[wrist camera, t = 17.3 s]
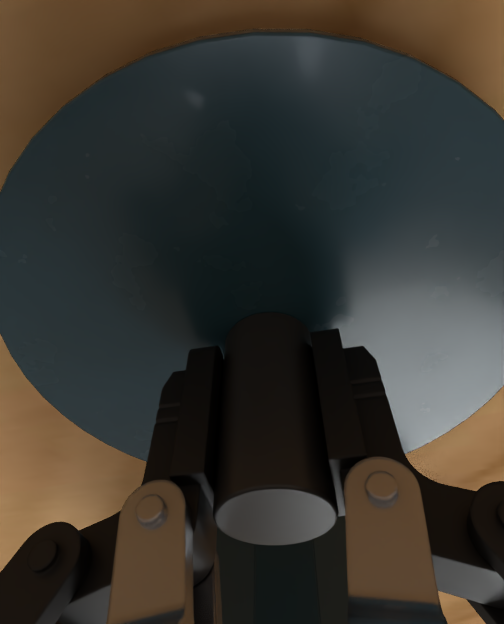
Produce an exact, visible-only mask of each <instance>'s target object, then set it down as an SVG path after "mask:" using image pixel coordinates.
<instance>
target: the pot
mask: <svg viewBox="0 0 504 624" xmlns="http://www.w3.org/2000/svg"><path fill="white" fill-rule="evenodd" d="M216 549H217V552H218V557H219V570H220V588H221V606H222V624H347V612H348V580H347V553H346V525H345V516H338V518H337V521H336V523H335V525H334V526H333V527H332V528H331V529H330V530H329V531H328V532H326V533H325V534H323V535H321V536H319V537H317V538H314V539H312V540H308V541H305V542H301V543H296V544H289V545H259V544H252V543H247V542H243V541H240V540H237V539H234V538H232V537H230V536H228V535H226V534H225V533H223V532H222V531H221V530H220V529H219V528H218V527H217V540H216Z"/></svg>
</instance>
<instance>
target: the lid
mask: <svg viewBox="0 0 504 624" xmlns="http://www.w3.org/2000/svg"><path fill="white" fill-rule="evenodd" d="M336 328H338V329H339V332H340V337H341V341H342V346H343V348H350V347H357V346H364V347H365V348H366V349H367V351H368V352H369V353H370V354H371V355H372V356H373V357H374V358H375V359H376V361H377V364H378V368H379V371H380V374H381V379H382V381H383V385H384V388H385V391H386V396H387V398H388V401H389V405H390V408H391V411H392V415H393V418H394V421H395V425H396V428H397V431H398V435H399V438H400V442H401V445H402V448H403V451H404V454H406V453H409V452H411V451H413V450H415V449H417V448H420V447H422V446H424V445H426V444H428V443H429V442H431V441H433V440H435V439H436V438H438V437H440V436H442V435H444V434H445V433H447V432H449V431H450V430H451V429H453V428H454V427H456V426H457V425H459V424H460V423H462V422H463V421H465V420H466V419H468V418H469V417H470V416H471V415H473V414H474V413H475V412H476V411H477V410H479V409H480V408H481V407H482V406H483V405H485V404H486V403H487V402H488V401H489V400H490V399H491V398H492V397H493V396H494V395H495V394H496V393H497V392H498V391H499V390H500V389H501V388H502V387H503V386H504V120H503V118H502V117H501V116H500V115H499V114H498V113H497V112H496V110H494V109H493V108H492V107H491V106H489V105H488V104H487V103H486V102H484V101H483V100H482V99H480V98H479V97H478V96H477V95H475V94H474V93H473V92H472V91H470V90H469V89H468V88H466V87H465V86H464V85H463V84H461V83H460V82H459V81H457V80H456V79H454V78H453V77H451V76H449V75H447V74H445V73H444V72H442V71H440V70H438V69H436V68H434V67H432V66H430V65H429V64H427V63H425V62H423V61H421V60H419V59H417V58H415V57H414V56H412V55H410V54H407V53H404V52H401V51H398V50H396V49H393V48H390V47H387V46H384V45H381V44H378V43H375V42H372V41H369V40H366V39H363V38H359V37H353V36H347V35H341V34H335V33H329V32H323V31H317V30H311V29H248V30H241V31H235V32H228V33H221V34H214V35H208V36H201V37H198V38H194V39H191V40H188V41H185V42H181V43H178V44H175V45H172V46H169V47H165V48H162V49H159V50H156V51H153V52H150V53H148V54H146V55H144V56H142V57H140V58H138V59H136V60H134V61H132V62H130V63H128V64H126V65H124V66H122V67H120V68H118V69H116V70H114V71H112V72H110V73H108V74H106V75H105V76H103V77H102V78H100V79H99V80H98V81H96V82H95V83H94V84H92V85H91V86H89V87H88V88H87V89H85V90H84V91H82V92H81V93H80V94H78V95H77V96H76V97H74V98H73V99H71V100H70V101H69V102H67V103H66V104H65V105H64V106H63V107H62V108H61V109H60V110H59V111H58V112H57V113H56V114H55V115H54V116H53V117H52V118H51V119H50V120H49V121H48V122H47V123H46V124H45V125H44V126H43V127H42V128H41V129H40V130H39V131H38V132H37V133H36V134H35V135H34V136H33V137H32V138H31V140H30V141H29V143H28V144H27V146H26V147H25V149H24V150H23V152H22V153H21V155H20V156H19V158H18V159H17V161H16V162H15V164H14V165H13V167H12V168H11V170H10V171H9V173H8V175H7V178H6V180H5V182H4V185H3V187H2V189H1V192H0V334H1V336H2V338H3V340H4V342H5V344H6V346H7V348H8V350H9V352H10V354H11V356H12V357H13V359H14V360H15V362H16V363H17V365H18V366H19V368H20V369H21V371H22V372H23V374H24V375H25V377H26V378H27V379H28V380H29V381H30V383H31V384H32V385H33V386H34V387H35V388H36V389H37V391H38V392H39V393H40V394H41V395H42V396H43V397H44V398H45V399H46V400H47V401H48V402H49V403H50V404H51V405H52V406H53V407H55V408H56V409H57V410H58V411H59V412H60V413H61V414H62V415H63V416H65V417H66V418H68V419H69V420H70V421H72V422H73V423H74V424H76V425H77V426H78V427H80V428H81V429H82V430H84V431H85V432H87V433H89V434H90V435H92V436H94V437H95V438H97V439H99V440H100V441H102V442H104V443H105V444H107V445H109V446H112V447H114V448H116V449H118V450H120V451H122V452H124V453H126V454H128V455H130V456H133V457H136V458H138V459H141V460H143V461H146V462H147V459H148V454H149V450H150V445H151V440H152V435H153V430H154V425H155V424H156V416H157V411H158V409H159V401H160V397H161V392H162V388H163V386H164V385H165V383H166V382H167V380H168V379H169V377H170V376H171V374H172V373H173V372H176V371H183V370H186V365H187V359H188V353H189V351H190V350H191V349H196V348H203V347H210V346H219V347H220V349H221V352H222V355H223V358H224V366H223V380H222V393H221V407H220V420H219V434H218V448H217V461H216V475H215V488H214V502H213V519H214V522H215V524H216V526H217V527H218V528H219V529H220V530H221V531H222V532H223V533H225V534H226V535H228V536H230V537H232V538H234V539H237V540H240V541H243V542H247V543H252V544H259V545H289V544H296V543H301V542H305V541H308V540H312V539H314V538H317V537H319V536H321V535H323V534H325V533H326V532H328V531H329V530H330V529H331V528H332V527H333V526H334V525H335V523H336V521H337V518H338V505H337V498H336V491H335V487H334V485H333V483H332V477H331V471H330V465H329V458H328V452H327V445H326V438H325V431H324V424H323V417H322V411H321V404H320V397H319V390H318V383H317V377H316V370H315V363H314V356H313V349H312V342H311V336H310V332H315V331H322V330H329V329H336Z"/></svg>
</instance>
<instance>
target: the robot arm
mask: <svg viewBox="0 0 504 624" xmlns="http://www.w3.org/2000/svg"><path fill="white" fill-rule="evenodd" d="M310 336H311V342H312V349H313V356H314V363H315V370H316V377H317V383H318V390H319V397H320V404H321V411H322V417H323V424H324V431H325V438H326V445H327V452H328V458H329V465H330V471H331V477H332V483H333V485H334V487H335V491H336V498H337V505H338V516H345V525H346V553H347V580H348V612H347V624H447V621H446V618H445V617H444V615H443V612H442V609H441V605H440V600H439V595H438V591H441V592H445V593H448V594H451V595H455V596H458V597H461V598H465V599H467V601H468V602H469V603H470V604H471V606H472V607H473V608H474V609H475V610H476V612H477V613H478V614H479V615H480V617H481V618H482V619H483V620H484V622H485V623H486V624H504V481H498V482H492V483H489V484H486V485H484V486H483V487H481V488H480V489H479V490H478V491H472V490H467V489H462V488H458V487H453V486H448V485H444V484H440V483H437V482H435V481H432V480H430V479H428V478H427V477H425V476H423V475H422V474H421V473H419V472H418V471H417V470H416V469H415V468H414V467H413V466H412V465H411V464H410V462H409V461H408V459H407V458H406V456H405V454H404V451H403V448H402V445H401V442H400V438H399V435H398V431H397V428H396V425H395V421H394V418H393V415H392V411H391V408H390V405H389V401H388V398H387V396H386V391H385V388H384V385H383V381H382V379H381V374H380V371H379V368H378V364H377V361H376V359H375V358H374V357H373V356H372V355H371V354H370V353H369V352H368V351H367V349H366V348H365V347H364V346H357V347H350V348H343V346H342V341H341V337H340V332H339V329H338V328H336V329H329V330H322V331H315V332H310ZM223 366H224V358H223V355H222V352H221V349H220V347H219V346H210V347H203V348H196V349H191V350H190V351H189V353H188V359H187V365H186V370H183V371H176V372H173V373H172V374H171V376H170V377H169V379H168V380H167V382H166V383H165V385H164V386H163V388H162V392H161V397H160V401H159V409H158V411H157V416H156V424H155V425H154V430H153V435H152V440H151V445H150V450H149V454H148V459H147V464H146V469H145V474H144V478H143V482H142V484H141V486H140V487H139V488H137V489H136V490H135V491H134V492H133V493H132V494H131V495H130V496H129V497H128V499H127V500H126V501H125V503H124V505H123V507H122V510H121V511H119V512H118V513H116V514H115V515H113V516H111V517H109V518H106V519H104V520H102V521H100V522H97V523H95V524H93V525H91V526H88V527H86V528H84V529H81V530H79V531H78V530H77V529H76V528H75V527H74V526H73V525H71V524H69V523H66V522H55V523H51V524H48V525H46V526H44V527H42V528H40V529H39V530H37V531H36V532H35V533H33V534H32V535H31V536H30V537H29V538H28V539H27V540H26V541H25V542H24V544H23V545H22V546H21V547H20V549H19V550H18V551H17V552H16V554H15V555H14V556H13V557H12V559H11V560H10V561H9V562H8V564H7V565H6V566H5V567H4V569H3V570H2V571H1V572H0V624H222V606H221V588H220V570H219V557H218V552H217V549H216V540H217V526H216V524H215V522H214V519H213V502H214V488H215V475H216V461H217V448H218V434H219V420H220V407H221V393H222V380H223Z"/></svg>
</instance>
